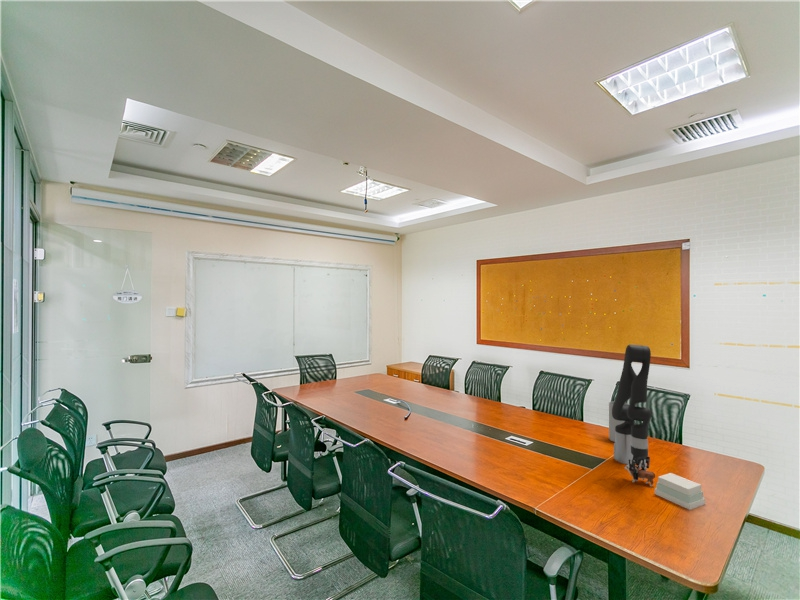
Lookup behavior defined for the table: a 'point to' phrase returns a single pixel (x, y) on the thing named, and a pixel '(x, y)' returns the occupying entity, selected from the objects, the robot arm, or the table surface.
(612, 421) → the cylinder vase
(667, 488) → the white stepped block
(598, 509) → the table surface
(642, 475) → the bull figurine
